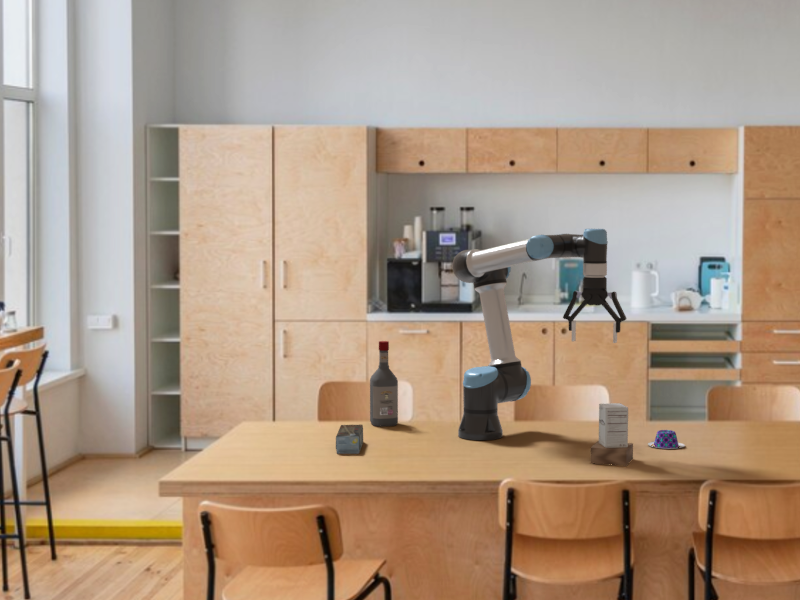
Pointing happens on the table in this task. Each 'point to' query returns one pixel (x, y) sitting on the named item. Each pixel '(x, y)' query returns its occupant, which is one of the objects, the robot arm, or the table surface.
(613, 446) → the supplement box
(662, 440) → the pudding
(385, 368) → the liquor
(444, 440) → the table surface
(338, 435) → the beverage carton
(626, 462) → the riser block
